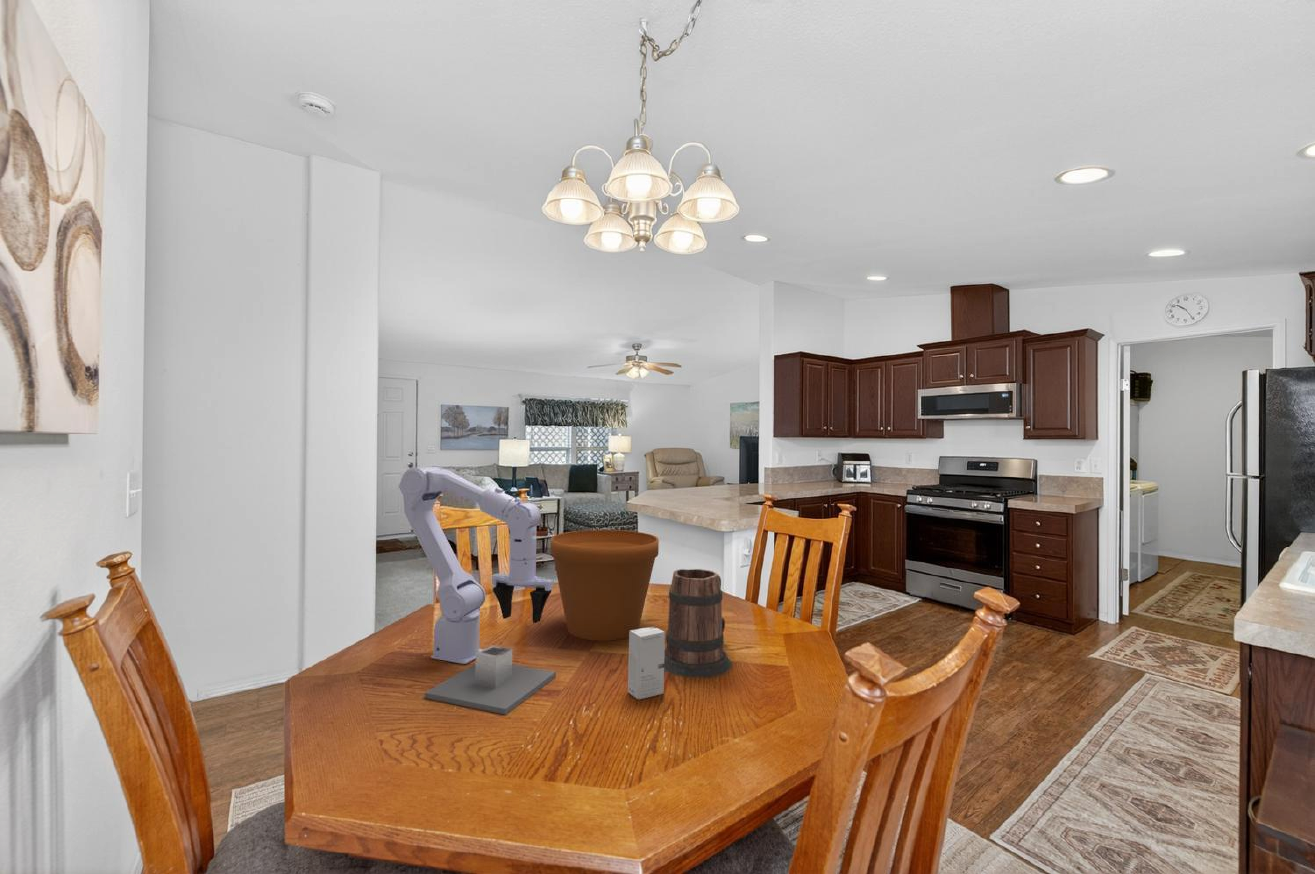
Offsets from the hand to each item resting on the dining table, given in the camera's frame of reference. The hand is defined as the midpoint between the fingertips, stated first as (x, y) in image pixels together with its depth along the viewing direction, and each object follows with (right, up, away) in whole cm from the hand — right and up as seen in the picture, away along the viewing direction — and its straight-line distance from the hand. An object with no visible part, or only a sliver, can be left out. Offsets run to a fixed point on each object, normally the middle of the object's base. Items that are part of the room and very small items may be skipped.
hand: (521, 619), depth 130 cm
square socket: (-3, -8, -13) cm, 16 cm away
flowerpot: (+16, -10, +24) cm, 30 cm away
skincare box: (+28, -10, -14) cm, 33 cm away
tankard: (+40, -10, +5) cm, 41 cm away
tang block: (-3, -9, -13) cm, 16 cm away
